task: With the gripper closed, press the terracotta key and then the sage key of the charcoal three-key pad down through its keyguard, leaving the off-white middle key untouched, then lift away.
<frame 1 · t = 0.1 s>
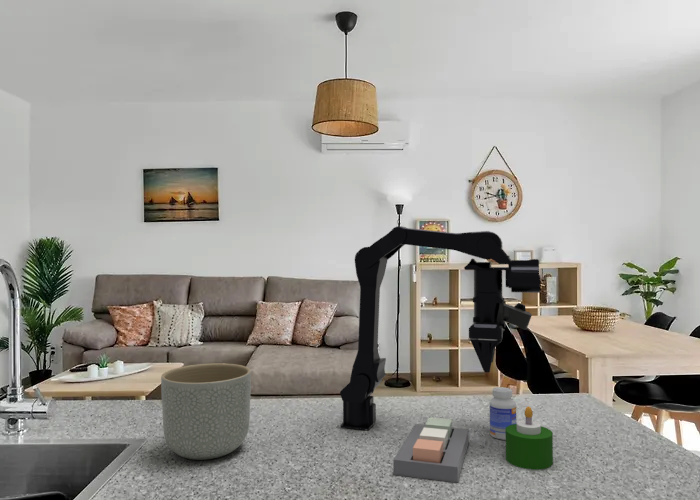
hand: (488, 367, 111), 15 cm above the kitchen counter, fingers open, 9 cm apart
key terracotta: (428, 451, 95), point 3 cm above the kitchen counter, slide at 0.0 cm
pill bottle: (503, 436, 112), on the kitchen counter
candle: (528, 461, 99), on the kitchen counter
key sage: (439, 427, 107), point 3 cm above the kitchen counter, slide at 0.0 cm
key white: (434, 438, 101), point 3 cm above the kitchen counter, slide at 0.0 cm
planter: (207, 451, 105), on the kitchen counter
keypad: (434, 456, 101), on the kitchen counter
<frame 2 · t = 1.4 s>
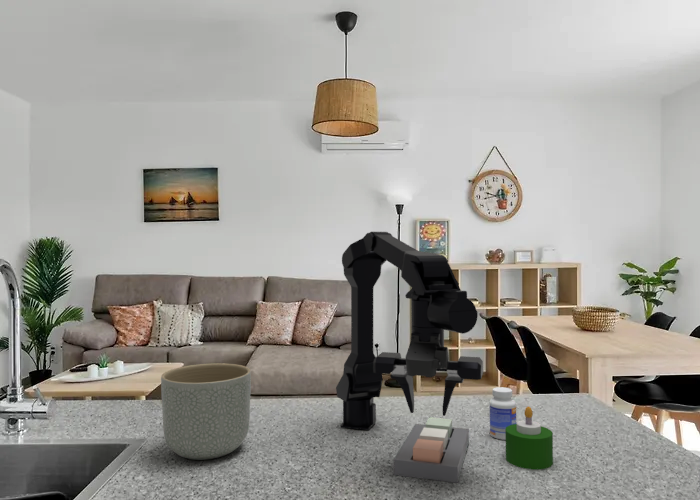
hand: (428, 413, 95), 10 cm above the kitchen counter, fingers open, 5 cm apart
nothing on the kitchen counter moved.
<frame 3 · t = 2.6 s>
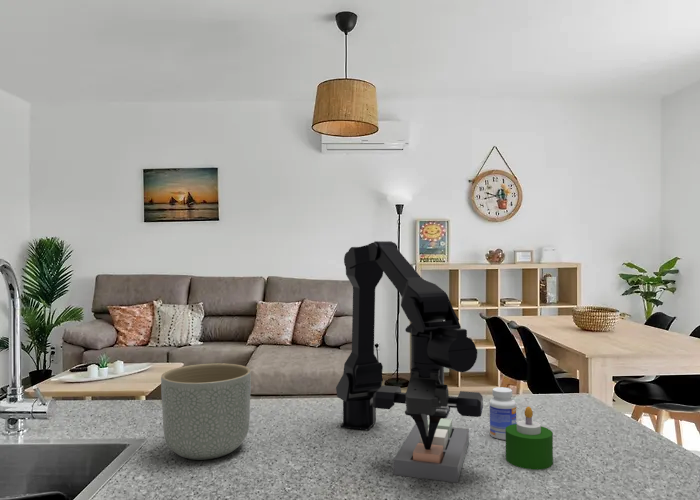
hand: (428, 448, 95), 4 cm above the kitchen counter, fingers closed, pressing on key terracotta
key terracotta: (428, 455, 95), point 3 cm above the kitchen counter, slide at -0.8 cm, touching gripper
everything else where it was.
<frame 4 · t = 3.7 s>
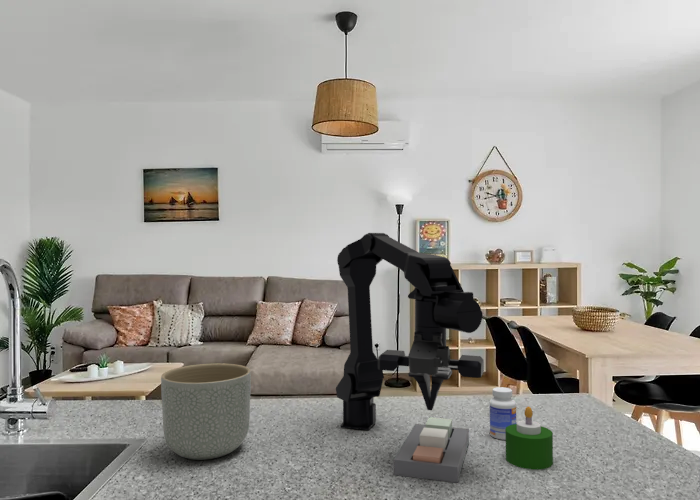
hand: (430, 409, 98), 10 cm above the kitchen counter, fingers closed
key terracotta: (428, 458, 95), point 2 cm above the kitchen counter, slide at -1.2 cm
everything else where it was.
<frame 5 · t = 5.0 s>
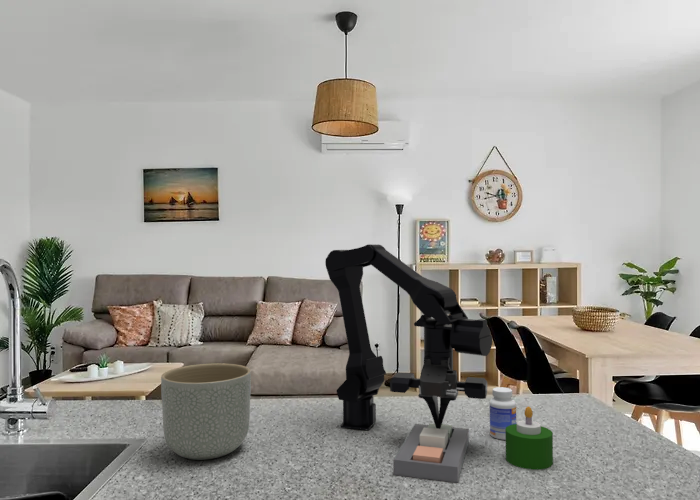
hand: (438, 428, 107), 3 cm above the kitchen counter, fingers closed, pressing on key sage
key sage: (439, 433, 107), point 2 cm above the kitchen counter, slide at -1.2 cm, touching gripper
everything else where it was.
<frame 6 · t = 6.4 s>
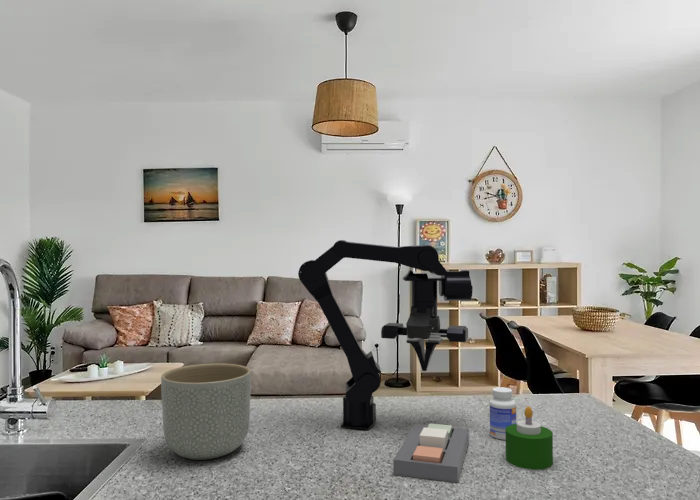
hand: (424, 370, 120), 12 cm above the kitchen counter, fingers closed
key sage: (439, 434, 107), point 2 cm above the kitchen counter, slide at -1.3 cm
everything else where it was.
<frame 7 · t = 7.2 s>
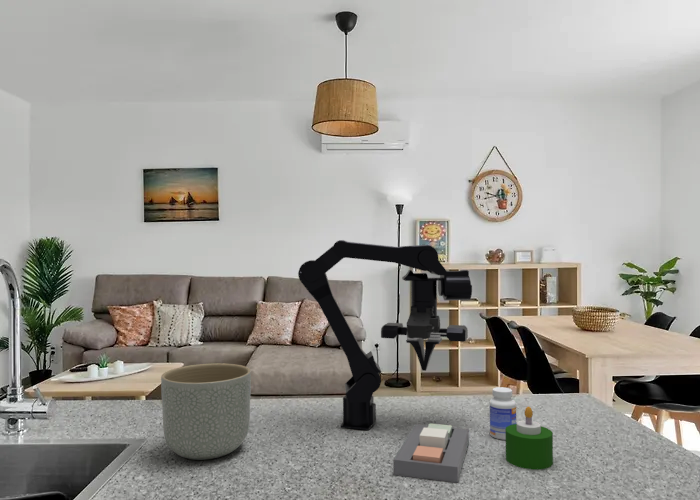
hand: (424, 370, 120), 12 cm above the kitchen counter, fingers closed
nothing on the kitchen counter moved.
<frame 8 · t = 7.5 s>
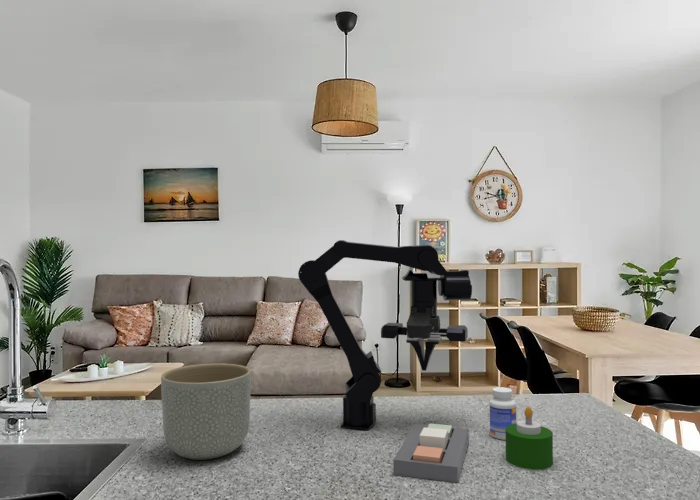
hand: (424, 370, 120), 12 cm above the kitchen counter, fingers closed
nothing on the kitchen counter moved.
at the end: key terracotta slide at -1.2 cm; key sage slide at -1.3 cm; key white slide at 0.0 cm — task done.
